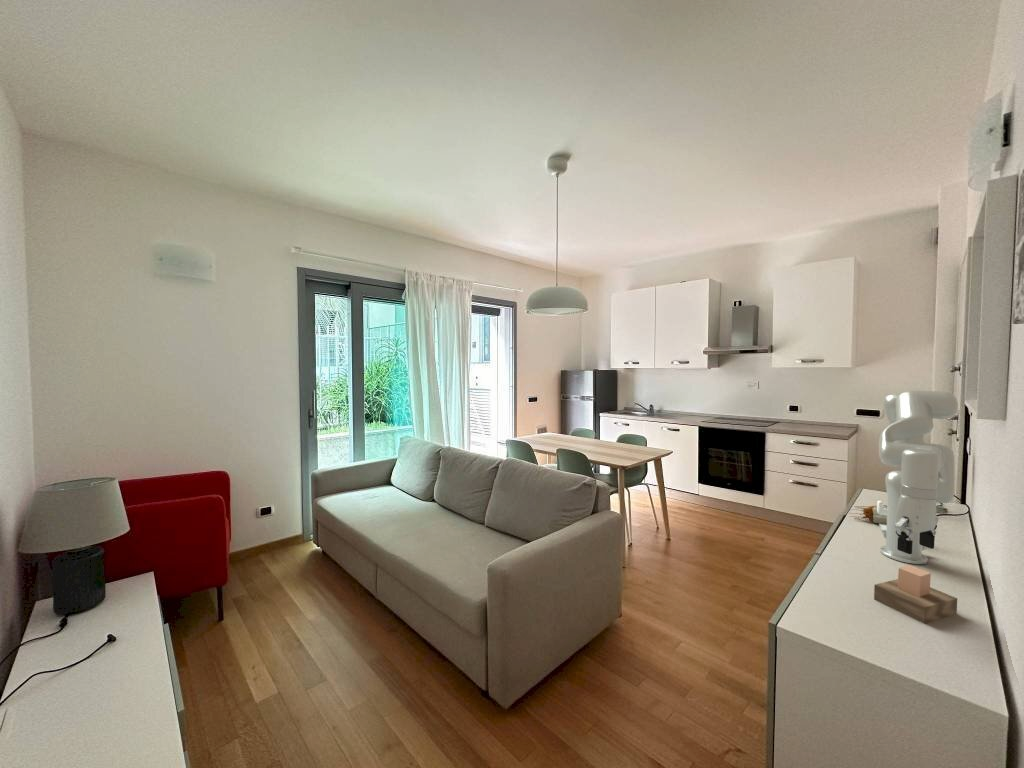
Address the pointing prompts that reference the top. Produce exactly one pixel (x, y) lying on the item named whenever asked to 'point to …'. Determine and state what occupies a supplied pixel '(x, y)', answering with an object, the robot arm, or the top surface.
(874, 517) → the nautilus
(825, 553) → the top surface
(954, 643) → the top surface
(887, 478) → the robot arm
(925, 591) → the peach block
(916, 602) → the walnut plinth
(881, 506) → the figurine
